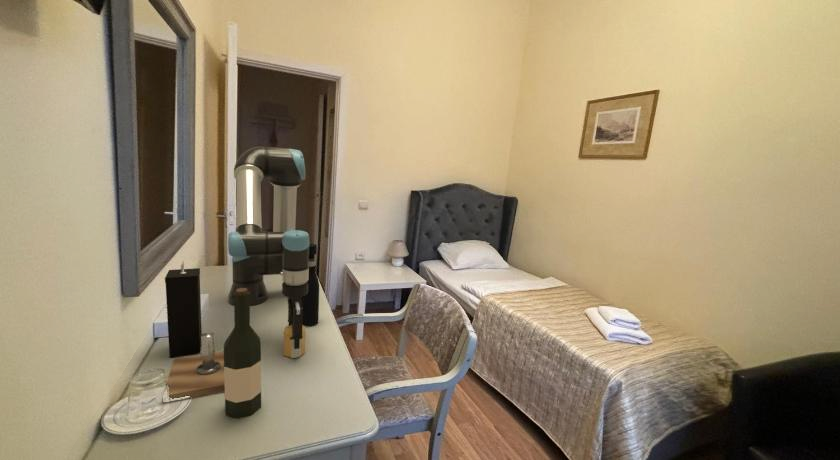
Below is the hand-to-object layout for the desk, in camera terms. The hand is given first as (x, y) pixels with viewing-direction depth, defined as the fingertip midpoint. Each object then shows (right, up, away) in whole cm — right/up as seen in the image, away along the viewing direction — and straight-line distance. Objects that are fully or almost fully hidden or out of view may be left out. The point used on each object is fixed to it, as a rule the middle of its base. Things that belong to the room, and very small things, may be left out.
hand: (294, 351), depth 113 cm
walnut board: (-18, -2, -15) cm, 24 cm away
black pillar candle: (-32, +1, -3) cm, 32 cm away
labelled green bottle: (-3, -5, -26) cm, 26 cm away
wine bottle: (-2, +3, +21) cm, 21 cm away
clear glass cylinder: (-18, 0, -15) cm, 24 cm away
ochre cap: (0, 0, 0) cm, 0 cm away
